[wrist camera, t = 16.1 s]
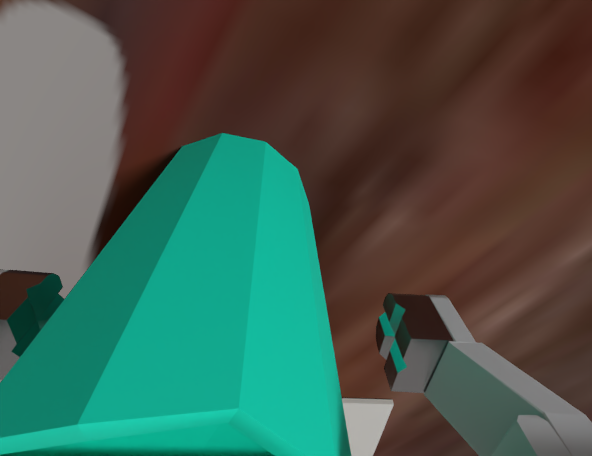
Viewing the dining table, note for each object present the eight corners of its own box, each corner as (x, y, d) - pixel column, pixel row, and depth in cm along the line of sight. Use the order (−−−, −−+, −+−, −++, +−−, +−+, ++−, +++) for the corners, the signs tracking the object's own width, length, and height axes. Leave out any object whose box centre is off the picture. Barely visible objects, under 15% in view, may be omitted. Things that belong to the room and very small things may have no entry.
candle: (269, 286, 16) (253, 763, 6) (136, 237, 14) (-215, 776, 4) (336, 176, 14) (529, 683, 3) (184, 102, 12) (-422, 630, 2)
